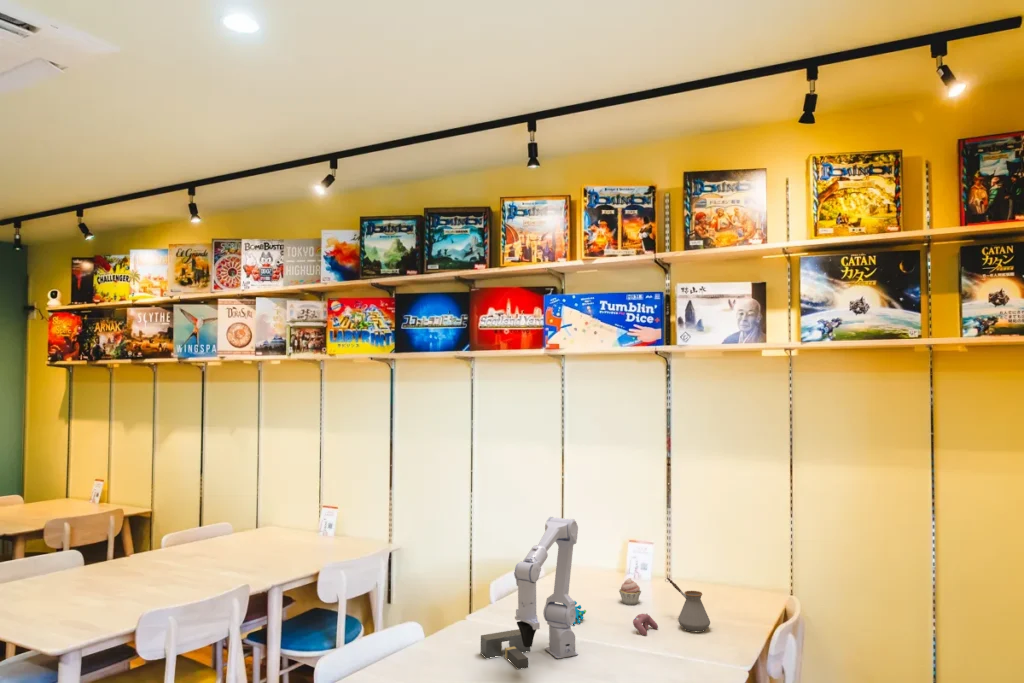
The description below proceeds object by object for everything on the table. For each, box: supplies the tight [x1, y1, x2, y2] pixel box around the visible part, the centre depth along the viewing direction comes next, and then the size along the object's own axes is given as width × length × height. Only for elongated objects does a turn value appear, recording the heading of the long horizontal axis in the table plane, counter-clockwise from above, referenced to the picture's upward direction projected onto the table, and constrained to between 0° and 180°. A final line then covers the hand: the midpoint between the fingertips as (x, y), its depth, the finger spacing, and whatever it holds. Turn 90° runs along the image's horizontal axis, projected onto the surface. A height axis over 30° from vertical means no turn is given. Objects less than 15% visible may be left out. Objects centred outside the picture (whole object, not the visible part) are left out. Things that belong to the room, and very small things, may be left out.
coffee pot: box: [664, 576, 711, 632], centre depth 256 cm, size 21×12×15 cm, turn 25°
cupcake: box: [618, 577, 642, 606], centre depth 282 cm, size 9×9×10 cm
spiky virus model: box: [562, 600, 587, 625], centre depth 261 cm, size 11×6×10 cm
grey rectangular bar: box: [504, 646, 529, 670], centre depth 221 cm, size 11×3×3 cm, turn 23°
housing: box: [480, 628, 531, 659], centre depth 230 cm, size 5×16×6 cm, turn 113°
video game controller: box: [632, 613, 659, 636], centre depth 249 cm, size 10×5×7 cm, turn 141°
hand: (527, 646), depth 213 cm, fingers closed
